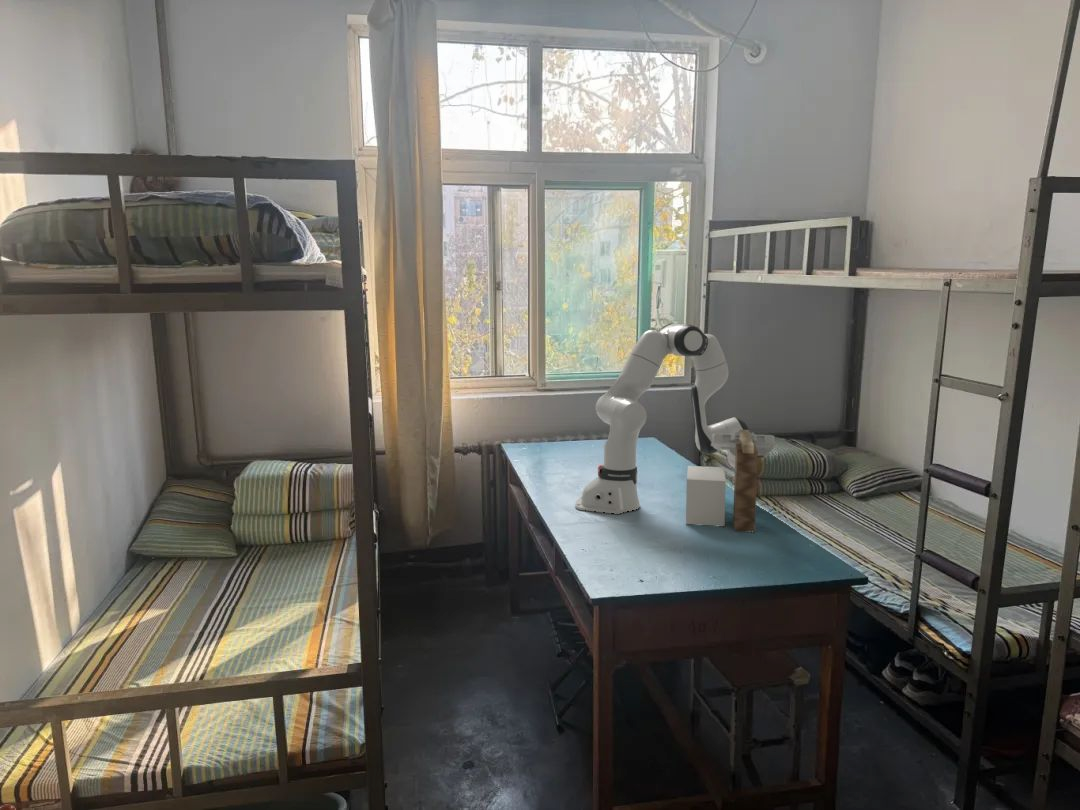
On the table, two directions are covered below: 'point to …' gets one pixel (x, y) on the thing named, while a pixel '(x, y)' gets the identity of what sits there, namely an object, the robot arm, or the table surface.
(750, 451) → the slat
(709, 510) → the white upright block
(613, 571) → the table surface
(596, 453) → the table surface
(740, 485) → the post
